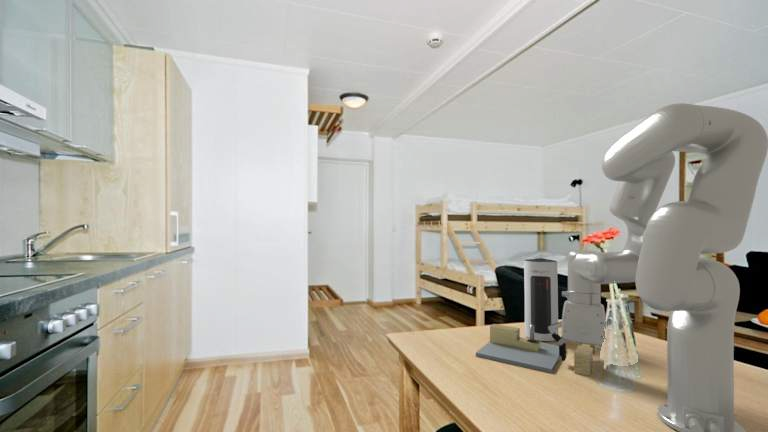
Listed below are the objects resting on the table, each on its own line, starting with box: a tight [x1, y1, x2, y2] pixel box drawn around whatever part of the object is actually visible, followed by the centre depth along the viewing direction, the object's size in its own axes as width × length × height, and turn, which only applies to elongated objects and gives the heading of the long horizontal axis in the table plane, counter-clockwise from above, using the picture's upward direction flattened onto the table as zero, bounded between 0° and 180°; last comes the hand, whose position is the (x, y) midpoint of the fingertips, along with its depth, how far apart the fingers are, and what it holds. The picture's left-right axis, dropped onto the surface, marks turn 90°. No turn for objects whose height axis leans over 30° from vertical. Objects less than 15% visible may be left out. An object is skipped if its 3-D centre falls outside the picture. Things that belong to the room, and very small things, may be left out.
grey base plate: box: [475, 340, 561, 374], centre depth 106 cm, size 20×20×1 cm
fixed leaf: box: [489, 323, 542, 352], centre depth 110 cm, size 4×14×7 cm, turn 55°
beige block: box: [573, 342, 597, 377], centre depth 97 cm, size 14×4×5 cm, turn 145°
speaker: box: [523, 257, 559, 343], centre depth 121 cm, size 11×10×26 cm
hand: (584, 363), depth 95 cm, fingers open, 9 cm apart
